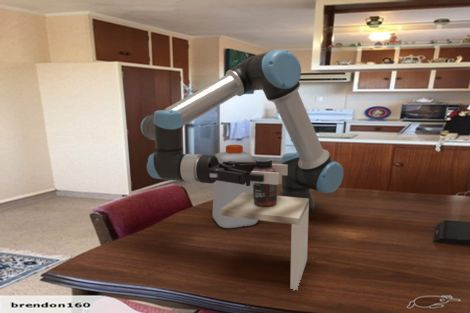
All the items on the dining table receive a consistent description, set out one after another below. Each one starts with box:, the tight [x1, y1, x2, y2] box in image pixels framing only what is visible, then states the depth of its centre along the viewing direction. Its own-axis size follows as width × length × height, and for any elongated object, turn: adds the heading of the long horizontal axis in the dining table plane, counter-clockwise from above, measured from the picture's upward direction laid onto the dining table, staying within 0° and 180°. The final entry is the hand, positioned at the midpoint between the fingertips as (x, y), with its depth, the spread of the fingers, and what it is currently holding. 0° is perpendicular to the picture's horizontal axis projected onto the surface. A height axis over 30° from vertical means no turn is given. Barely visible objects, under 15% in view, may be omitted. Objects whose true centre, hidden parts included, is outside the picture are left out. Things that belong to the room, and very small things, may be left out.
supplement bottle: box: [253, 158, 278, 206], centre depth 82 cm, size 6×6×11 cm
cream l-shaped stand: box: [221, 193, 310, 291], centre depth 84 cm, size 19×16×18 cm
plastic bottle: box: [212, 144, 259, 229], centre depth 118 cm, size 15×15×28 cm
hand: (283, 174), depth 80 cm, fingers open, 9 cm apart
